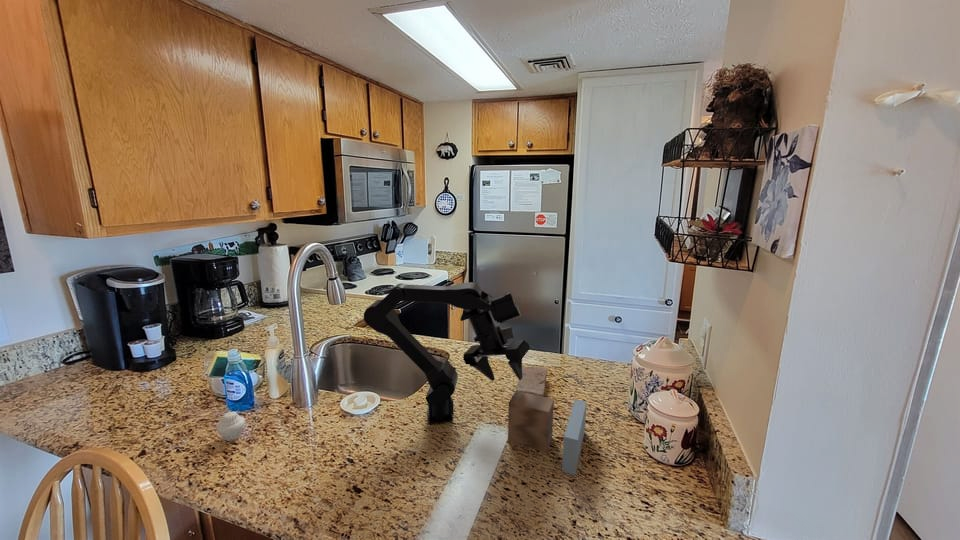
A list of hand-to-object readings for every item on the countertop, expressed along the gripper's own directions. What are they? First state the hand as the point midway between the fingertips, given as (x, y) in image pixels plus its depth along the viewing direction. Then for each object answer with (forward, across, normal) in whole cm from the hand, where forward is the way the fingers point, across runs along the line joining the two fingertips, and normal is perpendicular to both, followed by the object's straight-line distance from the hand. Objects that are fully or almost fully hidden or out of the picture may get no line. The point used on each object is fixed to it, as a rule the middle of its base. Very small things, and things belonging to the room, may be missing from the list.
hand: (506, 379), depth 102 cm
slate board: (+18, -15, +5) cm, 23 cm away
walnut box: (+14, -5, +6) cm, 16 cm away
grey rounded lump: (-16, +54, +45) cm, 72 cm away
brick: (+15, +6, -15) cm, 22 cm away
